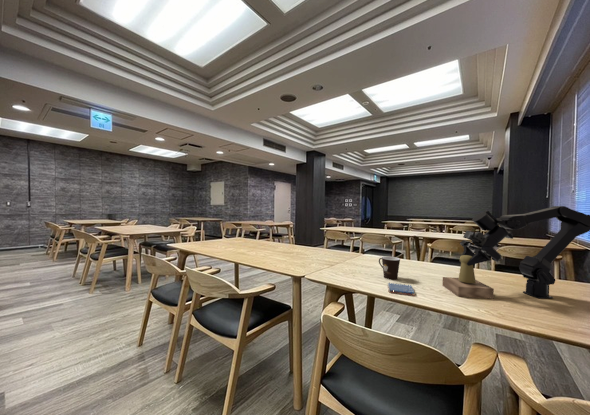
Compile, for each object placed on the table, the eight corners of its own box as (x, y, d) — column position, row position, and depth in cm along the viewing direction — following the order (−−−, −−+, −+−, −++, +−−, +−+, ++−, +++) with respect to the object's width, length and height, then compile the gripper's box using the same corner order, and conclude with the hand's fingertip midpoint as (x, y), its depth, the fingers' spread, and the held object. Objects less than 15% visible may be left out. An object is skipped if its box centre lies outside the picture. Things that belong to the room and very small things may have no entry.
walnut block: (473, 287, 106) (473, 278, 106) (493, 298, 94) (493, 288, 94) (442, 285, 108) (442, 277, 108) (458, 296, 95) (458, 286, 95)
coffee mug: (402, 280, 115) (403, 260, 115) (385, 280, 115) (385, 260, 115) (393, 273, 126) (393, 255, 126) (377, 273, 126) (377, 255, 126)
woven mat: (412, 289, 105) (412, 284, 105) (415, 297, 95) (416, 292, 95) (387, 286, 108) (387, 281, 108) (388, 294, 98) (388, 289, 98)
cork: (473, 284, 96) (474, 257, 96) (456, 280, 101) (456, 255, 101) (477, 281, 100) (477, 255, 100) (460, 277, 105) (460, 253, 105)
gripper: (464, 223, 109) (439, 246, 111) (493, 226, 91) (462, 254, 92) (482, 240, 108) (456, 263, 110) (515, 247, 90) (483, 274, 91)
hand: (463, 263), depth 101 cm, fingers closed on cork, 5 cm apart
